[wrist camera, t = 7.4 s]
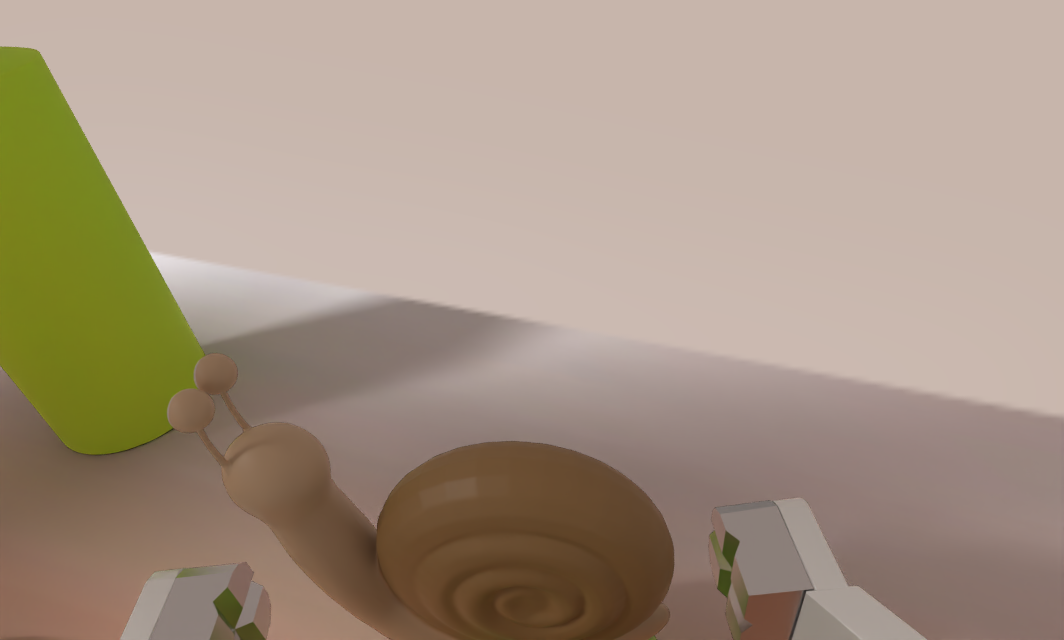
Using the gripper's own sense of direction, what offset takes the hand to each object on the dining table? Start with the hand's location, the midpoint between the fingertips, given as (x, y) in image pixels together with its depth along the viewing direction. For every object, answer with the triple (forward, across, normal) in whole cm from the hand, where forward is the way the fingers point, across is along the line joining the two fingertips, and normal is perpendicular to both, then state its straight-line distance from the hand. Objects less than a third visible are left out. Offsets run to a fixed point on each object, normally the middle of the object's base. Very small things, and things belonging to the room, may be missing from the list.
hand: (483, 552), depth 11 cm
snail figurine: (-1, 0, +7) cm, 7 cm away
